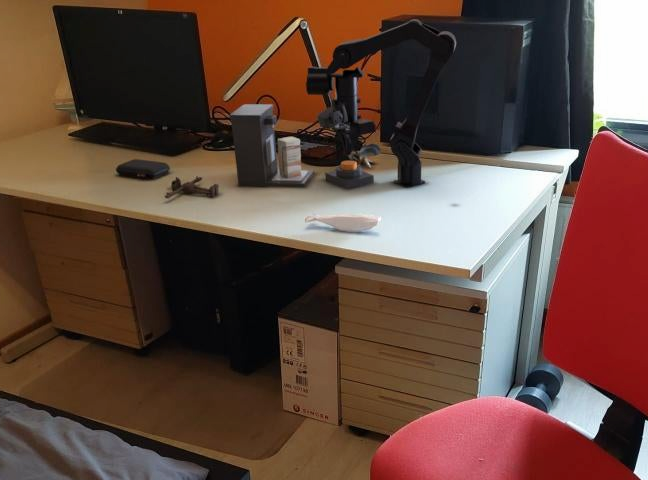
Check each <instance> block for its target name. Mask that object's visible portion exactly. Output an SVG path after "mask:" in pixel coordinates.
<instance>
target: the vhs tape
mask: <svg viewBox="0 0 648 480" xmlns="http://www.w3.org/2000/svg"><path fill="white" fill-rule="evenodd" d="M317 146H328V145H327V144H321V143H313V142H307V141H302V140H300V154H301V157H306V158H313V156H309V155H307V154H305V153H301V152H302V151H304V150H307V149H308V148H313V147H317ZM330 146H331V147H335V146H334V145H330Z"/></svg>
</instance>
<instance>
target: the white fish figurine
mask: <svg viewBox="0 0 648 480" xmlns="http://www.w3.org/2000/svg"><path fill="white" fill-rule="evenodd" d="M381 219H382V217H381V216H377V215H371V214H366V213H363V214H357V213H356V214H355V213H354V214H351V213H338V214H334V215H333V214H332V215H330V214H329V215H317V214H315V213H313V212H311V213H310V214H309V215H308V216H306V218H305V219H304V223H309V222H314V221H315V222H320V223H323V224H324V225H328V226H330V227H332V228H334V229H335V230H337V231H339V232H349V233H350V232H351V233H352V232H354V233H355V232H356V233H357V232H365V231H369V230H371V229H373V228H374V227H377V226H378V224H380V222H381Z"/></svg>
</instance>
